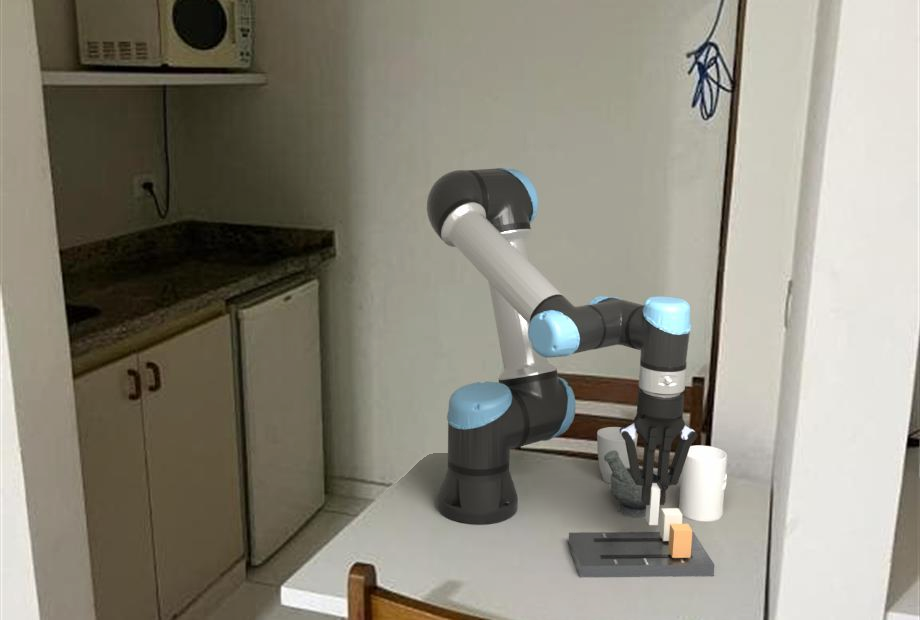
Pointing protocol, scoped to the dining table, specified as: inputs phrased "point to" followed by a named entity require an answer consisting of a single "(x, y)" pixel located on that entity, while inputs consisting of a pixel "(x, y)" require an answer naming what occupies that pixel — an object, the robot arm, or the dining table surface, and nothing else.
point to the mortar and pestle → (626, 487)
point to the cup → (611, 449)
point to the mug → (703, 484)
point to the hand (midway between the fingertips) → (651, 521)
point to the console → (634, 555)
